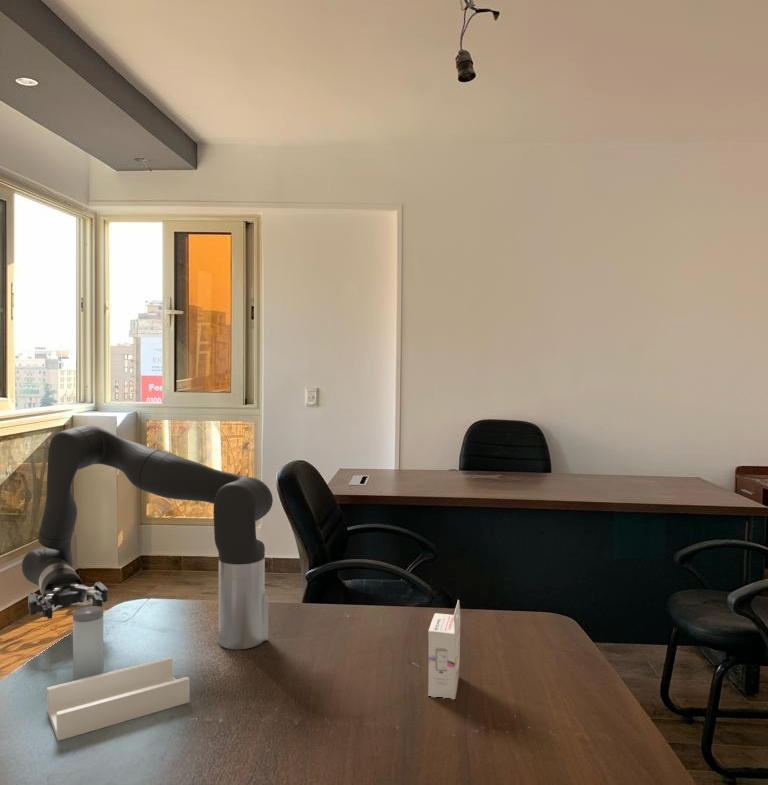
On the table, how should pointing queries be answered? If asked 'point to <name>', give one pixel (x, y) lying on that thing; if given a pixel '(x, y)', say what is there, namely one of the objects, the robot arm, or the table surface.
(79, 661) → the grey capped cylinder
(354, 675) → the table surface
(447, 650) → the ink cartridge box
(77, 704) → the tray
